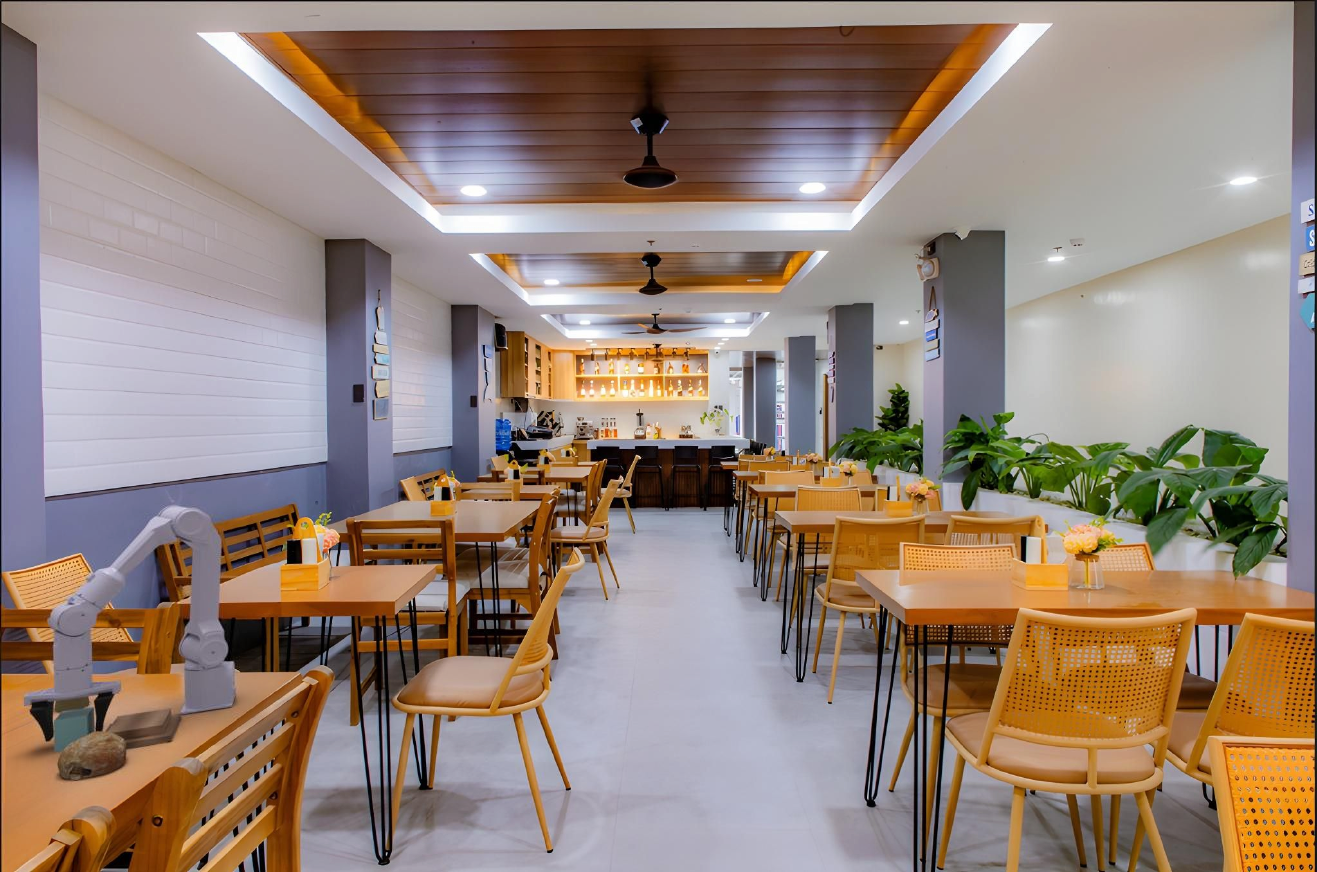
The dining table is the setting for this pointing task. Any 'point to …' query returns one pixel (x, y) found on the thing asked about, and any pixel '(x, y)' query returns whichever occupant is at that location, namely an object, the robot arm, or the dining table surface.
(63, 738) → the teal block
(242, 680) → the dining table surface
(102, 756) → the brown rounded lump
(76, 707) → the cork
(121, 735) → the walnut stand
